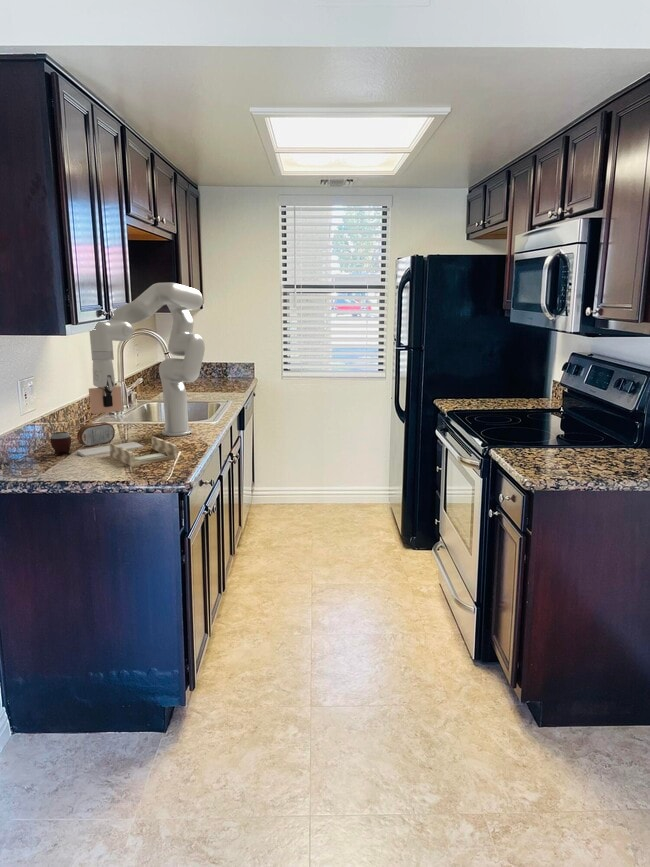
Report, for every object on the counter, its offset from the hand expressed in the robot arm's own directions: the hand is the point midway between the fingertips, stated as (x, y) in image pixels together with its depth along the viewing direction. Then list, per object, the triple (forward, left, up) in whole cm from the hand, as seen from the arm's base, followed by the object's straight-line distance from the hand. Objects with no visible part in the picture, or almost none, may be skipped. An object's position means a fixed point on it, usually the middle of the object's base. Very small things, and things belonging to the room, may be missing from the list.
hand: (106, 405), depth 229 cm
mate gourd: (-7, -16, -18) cm, 25 cm away
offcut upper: (+24, +5, -17) cm, 30 cm away
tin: (-14, 0, -18) cm, 23 cm away
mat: (0, 0, -17) cm, 17 cm away
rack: (+18, +5, -17) cm, 26 cm away
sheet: (0, 0, -2) cm, 2 cm away
